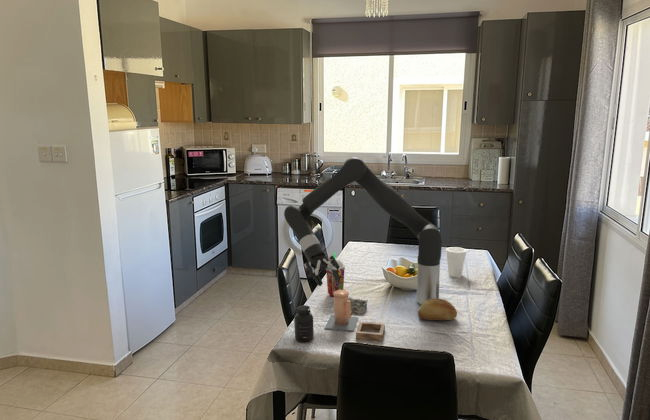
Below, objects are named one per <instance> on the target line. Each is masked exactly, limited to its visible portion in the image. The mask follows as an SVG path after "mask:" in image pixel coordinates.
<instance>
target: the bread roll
mask: <svg viewBox="0 0 650 420" xmlns="http://www.w3.org/2000/svg"><path fill="white" fill-rule="evenodd" d="M420 305H421V306H419V308H418V310H417V315H418V317H419V318H420V319H422V320H426V321H430V320H431V321H434V320H435V321H436V320H437V321H452V320H454V319H455V318H457V315H458V312H457V308H456V307H455V306H454V305H453V304H452V303H451V302H450V301H448V300H446V299H443V298H439V299H437V298H433V299H429V300H427V301H425V302H424V303H423V304H420Z"/></svg>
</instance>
